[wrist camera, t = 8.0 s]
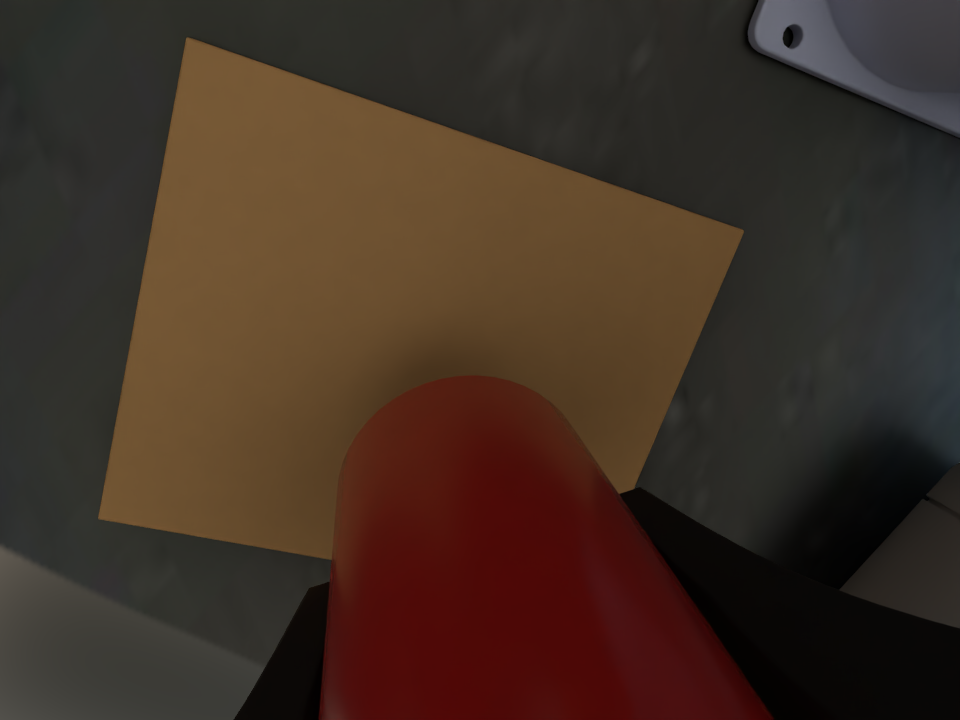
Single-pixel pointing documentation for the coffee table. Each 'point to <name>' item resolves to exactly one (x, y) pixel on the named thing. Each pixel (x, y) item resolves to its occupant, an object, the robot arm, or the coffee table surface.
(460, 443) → the can
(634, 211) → the mat
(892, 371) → the coffee table surface
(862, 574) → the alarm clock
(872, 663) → the robot arm
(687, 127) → the coffee table surface
